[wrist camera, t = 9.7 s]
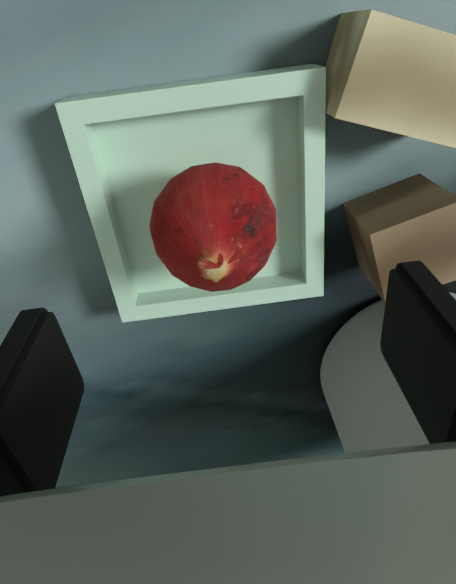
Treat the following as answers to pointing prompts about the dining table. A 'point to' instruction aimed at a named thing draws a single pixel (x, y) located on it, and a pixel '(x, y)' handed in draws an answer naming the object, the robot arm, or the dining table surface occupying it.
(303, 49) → the dining table surface
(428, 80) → the beech block
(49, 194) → the dining table surface
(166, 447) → the dining table surface
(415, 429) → the cylinder vase
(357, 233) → the walnut block
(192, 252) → the red round fruit
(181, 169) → the dish
